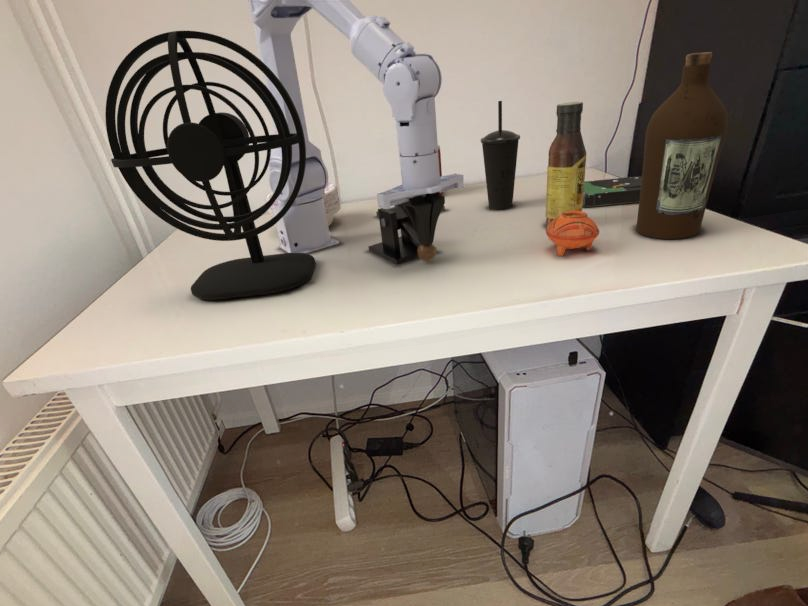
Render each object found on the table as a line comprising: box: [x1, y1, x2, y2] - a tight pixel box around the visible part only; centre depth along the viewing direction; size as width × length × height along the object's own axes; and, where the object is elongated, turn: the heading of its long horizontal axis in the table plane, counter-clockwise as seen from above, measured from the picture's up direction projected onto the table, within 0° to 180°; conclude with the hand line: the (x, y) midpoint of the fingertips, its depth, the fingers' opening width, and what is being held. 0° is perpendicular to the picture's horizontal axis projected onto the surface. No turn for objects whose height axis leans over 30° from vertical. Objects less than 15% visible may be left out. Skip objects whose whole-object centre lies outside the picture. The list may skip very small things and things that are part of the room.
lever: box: [389, 207, 437, 262], centre depth 81 cm, size 12×3×3 cm, turn 31°
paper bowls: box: [264, 182, 341, 227], centre depth 103 cm, size 15×15×8 cm
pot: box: [545, 211, 600, 257], centre depth 76 cm, size 8×8×7 cm
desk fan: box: [104, 30, 316, 301], centre depth 72 cm, size 27×18×35 cm, turn 92°
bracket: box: [368, 203, 437, 265], centre depth 84 cm, size 10×8×8 cm
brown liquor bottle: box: [635, 51, 729, 240], centre depth 74 cm, size 11×11×25 cm
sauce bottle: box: [545, 101, 587, 227], centre depth 83 cm, size 7×6×20 cm
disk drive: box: [582, 175, 642, 208], centre depth 98 cm, size 10×3×15 cm
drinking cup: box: [480, 100, 521, 211], centre depth 97 cm, size 8×8×20 cm
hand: (426, 243), depth 78 cm, fingers closed, pressing on lever
